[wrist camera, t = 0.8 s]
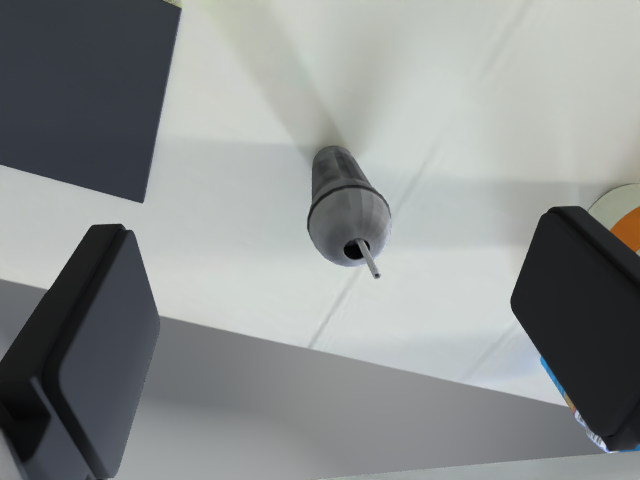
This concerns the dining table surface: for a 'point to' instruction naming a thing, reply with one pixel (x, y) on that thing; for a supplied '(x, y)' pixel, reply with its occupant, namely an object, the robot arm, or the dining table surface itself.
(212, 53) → the dining table surface
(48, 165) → the placemat
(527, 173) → the dining table surface
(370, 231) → the beverage cup
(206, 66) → the dining table surface
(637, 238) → the reusable coffee cup
